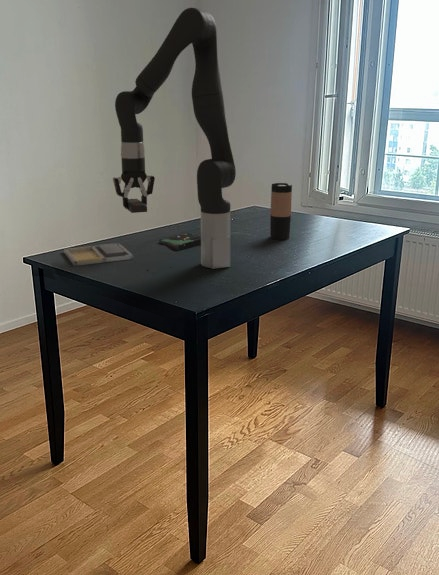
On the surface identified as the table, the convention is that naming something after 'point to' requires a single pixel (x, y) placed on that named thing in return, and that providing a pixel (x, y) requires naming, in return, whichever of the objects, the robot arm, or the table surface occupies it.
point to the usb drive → (136, 206)
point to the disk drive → (181, 241)
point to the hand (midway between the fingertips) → (135, 207)
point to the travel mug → (280, 211)
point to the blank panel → (110, 250)
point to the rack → (93, 255)
